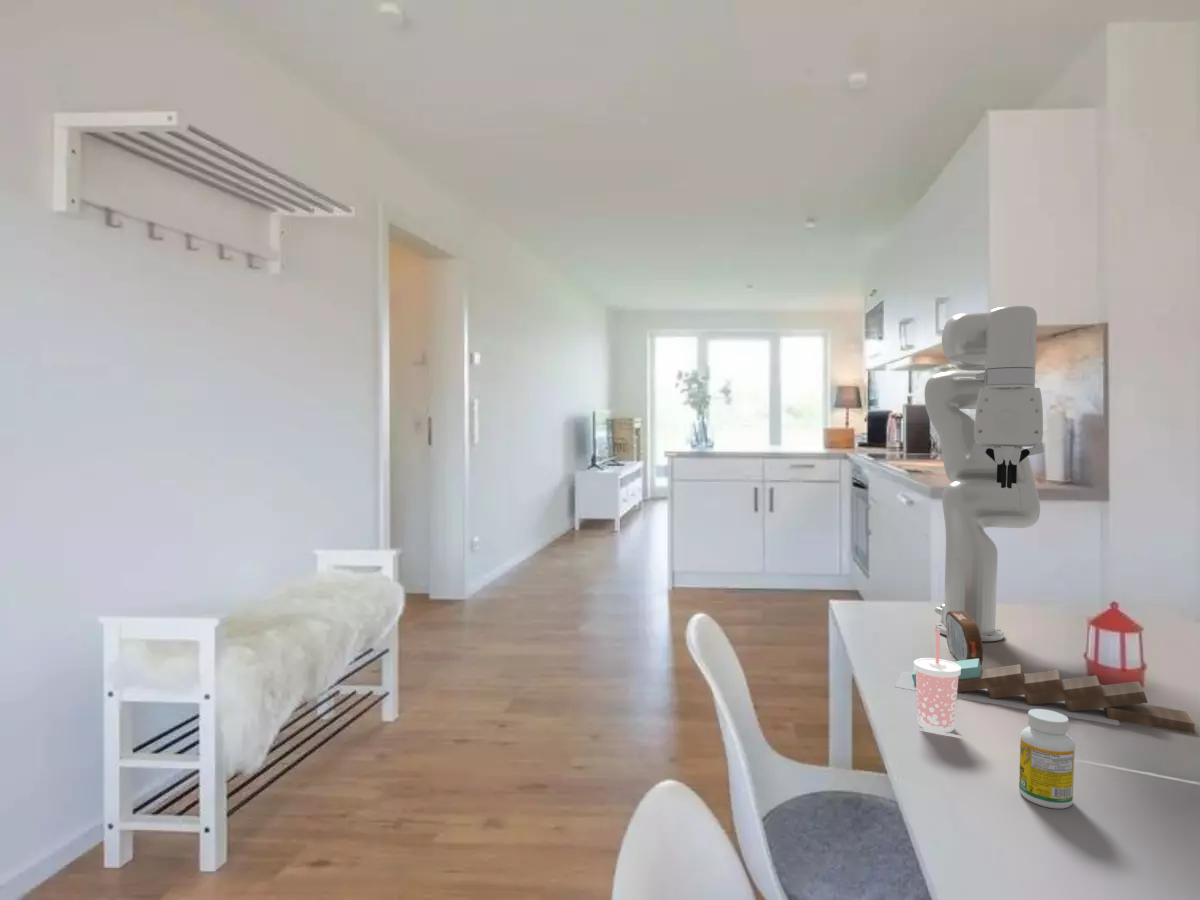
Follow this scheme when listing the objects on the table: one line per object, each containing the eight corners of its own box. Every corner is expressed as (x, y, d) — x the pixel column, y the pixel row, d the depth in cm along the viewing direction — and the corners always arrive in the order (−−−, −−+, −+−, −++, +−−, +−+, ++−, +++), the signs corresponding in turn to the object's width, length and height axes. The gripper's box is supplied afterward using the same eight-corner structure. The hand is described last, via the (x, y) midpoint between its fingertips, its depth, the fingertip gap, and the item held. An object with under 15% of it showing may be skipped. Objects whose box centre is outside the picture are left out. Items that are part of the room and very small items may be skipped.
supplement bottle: (1068, 815, 82) (1071, 728, 82) (1013, 799, 85) (1016, 716, 85) (1076, 796, 86) (1079, 714, 86) (1023, 782, 89) (1026, 702, 89)
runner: (894, 688, 121) (894, 686, 121) (902, 672, 129) (902, 670, 129) (1119, 727, 106) (1119, 725, 106) (1112, 706, 114) (1112, 704, 114)
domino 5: (1064, 701, 111) (1143, 691, 106) (1063, 690, 115) (1139, 681, 111) (1068, 711, 111) (1147, 702, 106) (1066, 700, 115) (1142, 691, 110)
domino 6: (1107, 707, 108) (1194, 723, 104) (1103, 696, 113) (1186, 711, 108) (1106, 718, 108) (1193, 735, 104) (1102, 706, 113) (1185, 722, 108)
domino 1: (911, 674, 122) (977, 666, 117) (915, 666, 126) (978, 658, 122) (914, 684, 122) (980, 677, 117) (917, 675, 126) (981, 668, 122)
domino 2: (951, 682, 118) (1020, 673, 114) (953, 673, 123) (1020, 664, 118) (954, 692, 118) (1024, 683, 114) (956, 683, 123) (1023, 674, 118)
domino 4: (1024, 694, 114) (1099, 685, 109) (1023, 684, 118) (1096, 675, 113) (1027, 705, 113) (1103, 696, 109) (1027, 694, 118) (1100, 685, 113)
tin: (984, 675, 128) (985, 626, 127) (964, 674, 128) (965, 625, 128) (960, 649, 143) (961, 605, 142) (942, 648, 143) (943, 604, 143)
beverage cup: (939, 739, 101) (942, 637, 101) (902, 723, 107) (904, 626, 106) (969, 731, 104) (972, 632, 103) (932, 716, 109) (934, 621, 109)
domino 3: (987, 688, 116) (1059, 679, 111) (988, 679, 120) (1057, 669, 116) (990, 698, 116) (1063, 689, 111) (991, 689, 120) (1061, 679, 115)
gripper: (959, 379, 128) (956, 486, 128) (1062, 378, 120) (1058, 491, 121) (962, 382, 134) (959, 484, 135) (1060, 380, 127) (1056, 488, 128)
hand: (1006, 487), depth 128 cm, fingers closed
